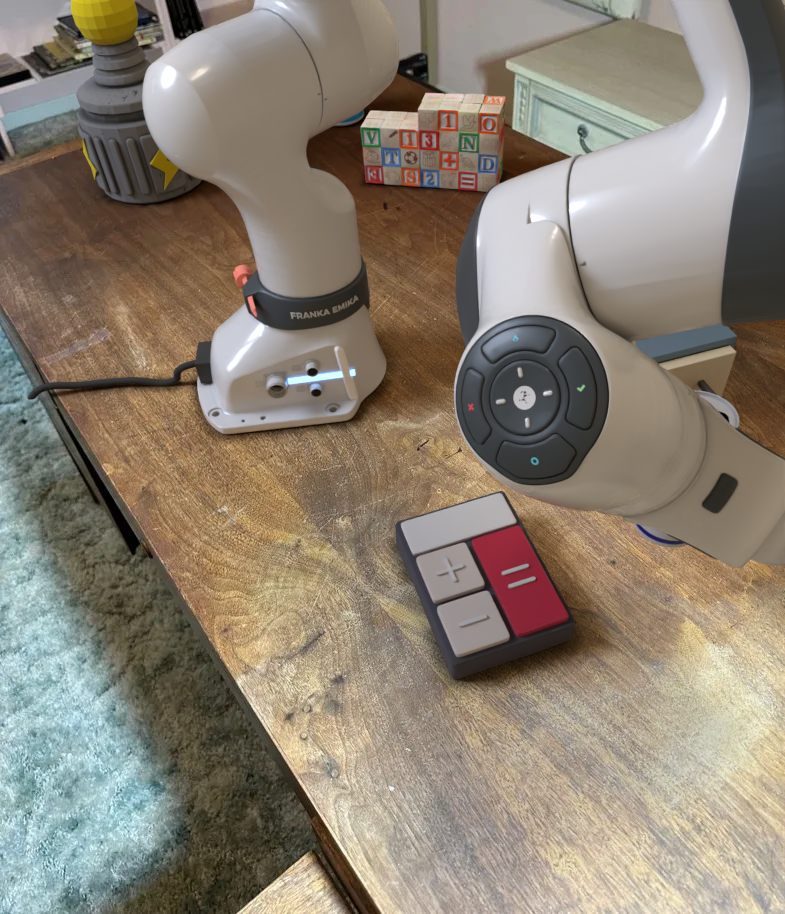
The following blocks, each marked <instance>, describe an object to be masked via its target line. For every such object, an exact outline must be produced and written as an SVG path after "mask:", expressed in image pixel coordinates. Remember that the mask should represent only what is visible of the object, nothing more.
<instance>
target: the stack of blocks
mask: <svg viewBox="0 0 785 914" xmlns="http://www.w3.org/2000/svg"><path fill="white" fill-rule="evenodd" d="M506 105H507V97H506V96H504V95H503V96H502V95H485V93H484V94H483V93H439V92H425V93H424V96H423V98H422V100H421V102H420V104H419V106H418V108H417V112H414V111H413V112H411V111H409V112H408V111H396V110H395V111H394V110H393V111H392V110H390V111H388V110H374V109H373V110H369V112H368V114H367V115H366V117H365V119H364V121H363V122H362V124H361V125H360V128H359V129H360V138H361V146H362V157H363V166H364V179H365V183H367V184H381V185H383V184H384V185H388V186H389V185H390V186H403V187H404V186H405V187H418V188H420V187H421V188H435V189H448V190H449V189H450V190H460V191H471V192H472V191H473V192H484V193H487V192H488V190H489V189H490V188H491V187H492V186H494V185H496V184H498V183H500V181H501V179H502V175H503V164H504V161H503V160H504V145H505V144H504V143H505V129H506V128H505V127H506V107H507V106H506Z"/></svg>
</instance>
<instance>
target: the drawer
mask: <svg viewBox="0 0 785 914" xmlns="http://www.w3.org/2000/svg"><path fill="white" fill-rule="evenodd" d="M736 355H737V350H735V348H732V347H731V346H730V345H729V346H725V347H721V348H717V349H713V350H711V349H709V350H705V351H701V352H697V353H693V354H690V355H686V356H682V357H678V358H674V359H670V360H666V361H662V362H658V364H659V365H660V366H661V367H663V368H665V369H666V370H668V371H669V372H671V373H672V374H673V375H675V376H676V377H677V378H679V379H680V380H681V381H682V382H684V383H685V384H686V385H688V386H689V387H690V388H691V389H693V390H694V391H705V392H709V393H713V394H715V395H718V396H720V397H722V398H723V399H725V400H727V401H728V402H729V400H728V399H727V397H725V396H723V394H724V391H725V388H726V385H727V382H728V379H729V376H730V373H731V370H732V367H733V365H734V361H735V358H736Z"/></svg>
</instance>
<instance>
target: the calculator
mask: <svg viewBox="0 0 785 914" xmlns="http://www.w3.org/2000/svg"><path fill="white" fill-rule="evenodd" d="M394 528H395V542H396V547H397V550H398V553H399V555H400V558H401V560H402V563H403V565H404V568H405V570H406V573H407V575H408V576H409V578H410V579H411V582H412V585H413V587H414V589H415V592H416V594H417V597H418V599H419V602H420V605H421V606H422V609H423V612H424V613H425V616H426V619H427V621H428V624H429V626H430V628H431V631H432V634H433V636H434V639H435V641H436V643H437V646H438V648H439V651H440V653H441V655H442V658H443V660H444V663H445V665H446V668H447V669H448V674H449V675H450V677H451V678H452V679H454V680H459V679H463V678H465V677H468V676H472V675H475V674H477V673H480V672H482V671H486V670H489V669H491V668H495V667H498V666H500V665H504V664H507V663H509V662H512V661H516V660H518V659H521V658H523V657H526V656H530V655H532V654H536V653H538V652H541V651H544V650H548V649H550V648H553V647H557V646H559V645H562V644H564V643H568V642H569V641H571V639H572V636H573V633H574V629H575V626H576V619H575V617H574V616H573V614H572V612H571V610H570V608H569V607H568V604H567V603H566V601H565V599H564V598H563V595H562V594H561V592H560V590H559V588H558V587H557V584H556V583H555V581H554V579H553V577H552V575H551V574H550V572H549V570H548V568H547V566H546V564H545V563H544V561H543V559H542V558H541V556H540V554H539V552H538V551H537V548H536V547H535V545H534V543H533V541H532V539H531V537H530V536H529V533H528V531H527V530H526V528H525V526H524V525H523V523H522V521H521V519H520V517H519V515H518V514H517V512H516V510H515V508H514V507H513V505H512V503H511V501H510V499H509V498H508V495H507V493H506V492H505V491H502V490H499V491H495V492H492V493H489V494H484V495H481V496H478V497H475V498H472V499H468V500H466V501H462V502H459V503H455V504H452V505H448V506H445V507H442V508H439V509H435V510H432V511H429V512H426V513H422V514H419V515H415V516H412V517H408V518H406V519H405V518H404V519H401V520H399V521H397V522H396V523H395V524H394Z"/></svg>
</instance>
